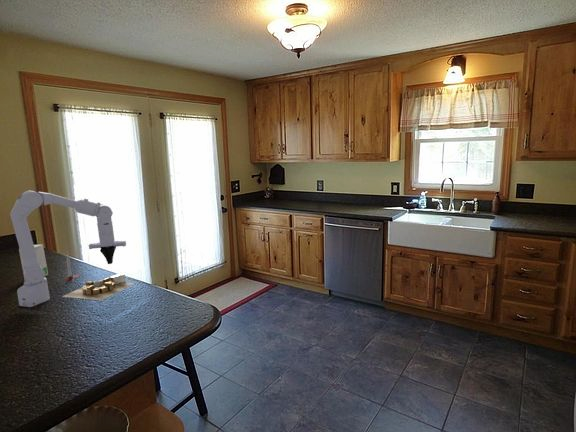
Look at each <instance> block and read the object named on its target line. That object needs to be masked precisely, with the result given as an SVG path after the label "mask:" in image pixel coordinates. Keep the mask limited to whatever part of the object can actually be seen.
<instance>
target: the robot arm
mask: <svg viewBox="0 0 576 432" xmlns="http://www.w3.org/2000/svg"><path fill="white" fill-rule="evenodd" d="M51 204H53V205H59V206H63V207H66V208H72V209H74V210H75V212H76V213H77V214H82V215H85V216H86V215H87V216H89V217H96V221H97V223H96V225H97V232H98V238H99V242H96V243H95V242H94V243H89V244H88V249H89V250H93V249H100V251H99V252H100V253H101V254H102V256H104V258H105V261H106V262H107V265H111V264H113V261H114V254H115V251H116V249H117V247H118V248H119V247H126V246H127V241H126V240H120V241H119V240H115V233H114V226H113V220H112V216H113V214H114V213H113V211H112V208H111V207H110V206H108V205H105V204H102V203H101V202H94V201H90V200H89V198H84V199H83V198H80V199H78V200H74V199H71V198H67V197H65V196H64V197H63V196H60V195H56V194H53V193H50V192H43V191H38V192H37V191H35V190H31V189H29V190H26V191H24V192H22V193H21V194H20V195H19V196H18V197H17V198H16V201H15V203H14V206H12V209H11V211H10V214H9V215H10V220H11V222H12V225H13V230H14V233H15V237H16V240H17V243H18V248H19V249H20V251H21V255H22V258H23V262H24V269H22V273H24V274H23V276H24V275H25V280H24V281H23V285H21V286H20V287H18V289H17V291H16V294H17V295H16V296H17V300H18V305H19V306H20V307H26V308H31V307H34V306H35V307H36V306H37V305H40V304H42V303H45V302H47V301H49V300H50V299H51V297H50V291H49V286H48V280H47V279H48V278H47V277H46V276H45V272H44V270H43V268H42V266H41V265H40V264H39V262H38V259H37V255H36V251H35V248H34V245H35V244H34V241H33V237H32V233H31V230H30V227H29V223H28V219H27V217H29V215H31V213H32V212H33V211H34V210H36V209H38V208H39V207H41V206H42V205H44V206H46V205H51ZM26 308H23V309H26Z"/></svg>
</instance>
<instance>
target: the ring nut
mask: <svg viewBox="0 0 576 432" xmlns="http://www.w3.org/2000/svg"><path fill="white" fill-rule="evenodd" d="M102 280H103V282H104V286H101V287H95V286H94V282H95V281H96V280H95V281H85V282H84V283H85V284H84V285H82V287H81V288H82V291H83V294H86V295H92V294H93V295H96V294H100V293H105V292H108V291H111V290H113V289H114V288H115V287H116V284H119V283H127V282H126V281H127V280H126V274H125V273H123V272H122V273H121V272H120V273H118V274H115V275H111V276H109V277H105V278H103V279H102Z"/></svg>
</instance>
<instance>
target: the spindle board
mask: <svg viewBox="0 0 576 432" xmlns="http://www.w3.org/2000/svg"><path fill="white" fill-rule="evenodd" d="M93 282H94V281H93ZM134 284H135V282H134V283H133V282H123V283H119V284H116V287H115V288H114V289H113V290H111V291H108V292H105V293H100V294H96V295H93V294H92V295H86V294H83V291H82V287H80V288H77V289H76V290H74V291H71V292H69V293H67V294H65V295H62V297H63V298H72V299H73V298H75V299H85V300H93V301H95V300H96V301H103V300H106V299H107V298H109V297H112V296H114V295H115V294H117V293H120V292H122V291H123V290H125V289H127V288H129V287H131V286H133V285H134ZM94 286H95V287H101V286H104V282H103V279H99V280H95V282H94Z"/></svg>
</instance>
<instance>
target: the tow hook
mask: <svg viewBox="0 0 576 432" xmlns="http://www.w3.org/2000/svg"><path fill="white" fill-rule="evenodd" d="M66 265H67V266H66V267H67V276H66V277H65V281H71V282H72V281H74V278H76V277H78V276H79V274H75V275H73V273H72V269H71V259H70V256H69V254H68V253H67V254H66Z"/></svg>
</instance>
